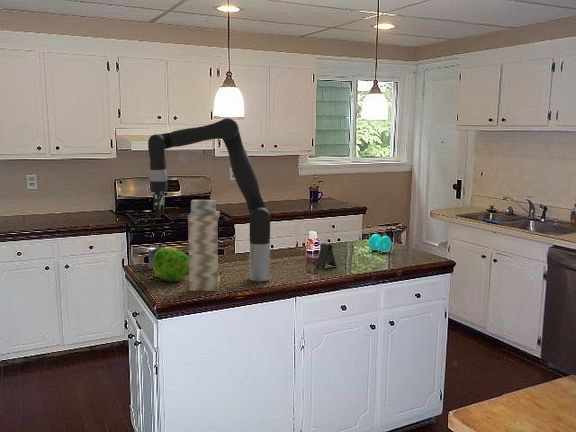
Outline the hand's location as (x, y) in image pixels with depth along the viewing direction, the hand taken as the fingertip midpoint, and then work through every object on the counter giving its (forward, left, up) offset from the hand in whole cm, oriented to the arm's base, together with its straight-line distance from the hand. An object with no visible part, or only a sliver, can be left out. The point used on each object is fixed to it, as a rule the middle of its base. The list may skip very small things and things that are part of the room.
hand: (159, 216), depth 239 cm
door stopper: (-79, -23, -30) cm, 87 cm away
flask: (+5, -22, -30) cm, 37 cm away
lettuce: (-4, 0, -29) cm, 30 cm away
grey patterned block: (-21, +5, +3) cm, 22 cm away
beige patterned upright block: (-21, +10, -29) cm, 37 cm away
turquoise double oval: (-115, -59, -30) cm, 133 cm away
